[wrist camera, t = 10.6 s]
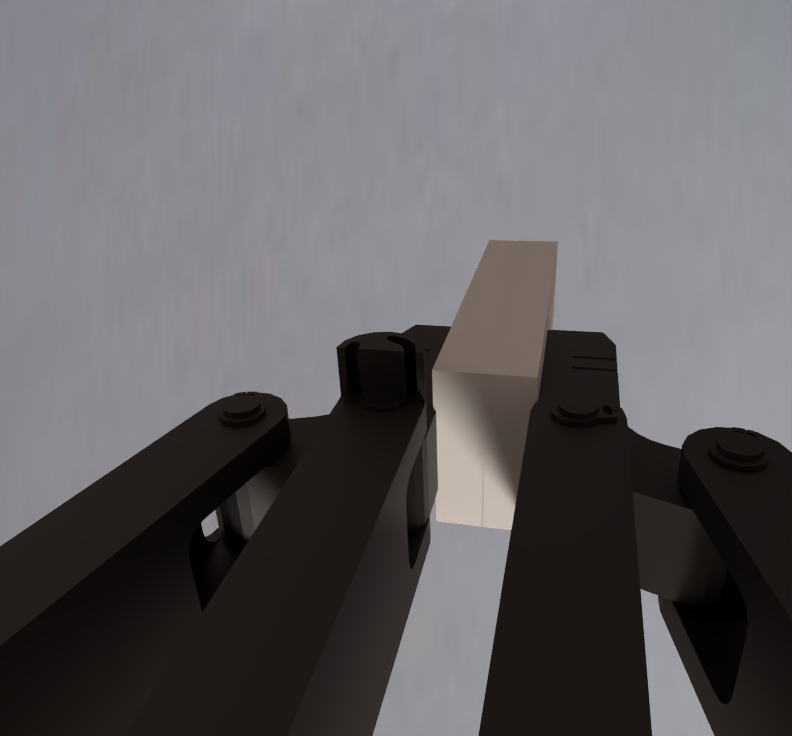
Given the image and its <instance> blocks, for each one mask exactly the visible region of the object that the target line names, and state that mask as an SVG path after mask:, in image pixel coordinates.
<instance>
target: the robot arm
mask: <svg viewBox="0 0 792 736" xmlns="http://www.w3.org/2000/svg"><path fill="white" fill-rule="evenodd" d="M557 245H558V242H540V241H496V240H489V243H488V245H487V247H486V250H485V252H484V254H483V256H482V259H481V261H480V263H479V265H478V268H477V270H476V272H475V274H474V277H473V279H472V281H471V283H470V286H469V288H468V290H467V292H466V295H465V297H464V299H463V301H462V304H461V306H460V308H459V310H458V313H457V315H456V317H455V320H454V322H453V324H452V326H451V327H448V326H429V325H415V326H413V327H411V328H410V329H408V330H406V331H405V332H403V333H395V332H373V333H368V334H363V335H358V336H355V337H353V338H350V339H348V340H345V341H344V342H343V343H341V344H340V345H339V346H338V347H337V357H338V367H339V378H340V389H341V397H340V399H339V400H338V402H337V404H336V405H335V407H334V408H333V410H332V411H331V413H330V414H329V415H323V416H316V417H306V418H296V419H289V417H288V410H287V405H286V404H285V402H284V401H283V400H282V399H281V398H279V397H277V396H274V395H271V394H267V393H258V392H247V393H245V392H241V393H236V394H234V395H232V396H228V397H225V398H222V399H220V400H218V401H216V402H214V403H212V404H210V405H208V406H207V407H205V408H204V409H202V410H201V411H199V412H198V413H196V414H195V415H193V416H192V417H190V418H189V419H187V420H186V421H184V422H183V423H181V424H180V425H179V426H177V427H176V428H174V429H173V430H171V431H170V432H168V433H167V434H165V435H164V436H162V437H161V438H159V439H158V440H156V441H155V442H153V443H152V444H150V445H149V446H148V447H146V448H145V449H143V450H142V451H140V452H139V453H137V454H136V455H134V456H133V457H131V458H130V459H128V460H127V461H125V462H124V463H122V464H121V465H120V466H118V467H117V468H115V469H114V470H112V471H111V472H109V473H108V474H106V475H105V476H103V477H102V478H100V479H99V480H97V481H96V482H94V483H93V484H92V485H90V486H89V487H87V488H86V489H84V490H83V491H81V492H80V493H78V494H77V495H75V496H74V497H72V498H71V499H69V500H68V501H66V502H65V503H64V504H62V505H61V506H59V507H58V508H56V509H55V510H53V511H52V512H50V513H49V514H47V515H46V516H44V517H43V518H41V519H40V520H38V521H37V522H36V523H34V524H33V525H31V526H30V527H28V528H27V529H25V530H24V531H22V532H21V533H19V534H18V535H16V536H15V537H13V538H12V539H10V540H9V541H8V542H6V543H5V544H3V545H2V546H0V736H372V735H373V732H374V728H375V725H376V722H377V718H378V715H379V712H380V708H381V705H382V702H383V698H384V695H385V692H386V688H387V685H388V682H389V678H390V675H391V672H392V668H393V665H394V662H395V658H396V655H397V652H398V648H399V645H400V641H401V638H402V635H403V631H404V628H405V625H406V621H407V618H408V615H409V611H410V608H411V605H412V601H413V598H414V595H415V591H416V588H417V585H418V581H419V578H420V575H421V571H422V568H423V565H424V561H425V558H426V555H427V551H428V548H429V545H430V513H431V510H432V507H433V503H434V500H435V497H436V521H440V522H448V523H456V524H465V525H473V526H481V527H490V528H498V529H506V530H511V536H510V542H509V548H508V555H507V561H506V567H505V574H504V580H503V586H502V592H501V599H500V605H499V611H498V617H497V624H496V630H495V636H494V643H493V649H492V655H491V661H490V668H489V674H488V680H487V687H486V693H485V699H484V705H483V712H482V718H481V724H480V731H479V736H652V730H651V717H650V705H649V692H648V679H647V667H646V654H645V641H644V629H643V616H642V604H641V591H640V589H643V590H645V591H648V592H651V593H653V594H656V595H658V601H659V607H660V612H661V614H662V617H663V619H664V621H665V623H666V626H667V628H668V630H669V633H670V635H671V637H672V639H673V642H674V644H675V646H676V649H677V651H678V653H679V655H680V658H681V660H682V662H683V665H684V667H685V669H686V672H687V674H688V676H689V678H690V681H691V683H692V685H693V688H694V690H695V692H696V694H697V697H698V699H699V701H700V704H701V706H702V708H703V710H704V713H705V715H706V717H707V720H708V722H709V724H710V726H711V729H712V731H713V733H714V736H792V452H790V451H789V450H788V449H787V448H785V447H784V446H783V445H781V444H780V443H779V442H777V441H775V440H773V439H771V438H768V437H766V436H764V435H762V434H760V433H758V432H754V431H751V430H745V429H742V428H736V427H732V428H724V427H715V428H708V429H701V430H698V431H696V432H694V433H692V434H690V435H689V436H687V438H686V440H685V441H684V443H683V445H682V449H679V448H675V447H671V446H667V445H664V444H661V443H658V442H655V441H652V440H649V439H647V438H645V437H643V436H641V435H639V434H637V433H636V432H635V431H633V430H632V429H631V428H629V427H628V426H627V418H626V415H625V413H624V411H623V409H622V408H620V399H619V385H618V372H617V361H616V360H617V357H616V345H615V344H614V343H613V342H612V341H611V340H610V339H609V338H608V337H607V336H606V335H605V334H604V333H601V332H582V331H563V330H553V316H554V299H555V281H556V263H557ZM214 510H216V515H217V520H218V525H219V528H218V529H216V530H215V531H214V532H213V533H212V534H211V535H209V536H207V537H205V536H204V534H203V531H202V526H201V522H202V521H203V520H204V519H205V518H206V517H207V516H208V515H209V514H211V513H212V512H213V511H214Z"/></svg>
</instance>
